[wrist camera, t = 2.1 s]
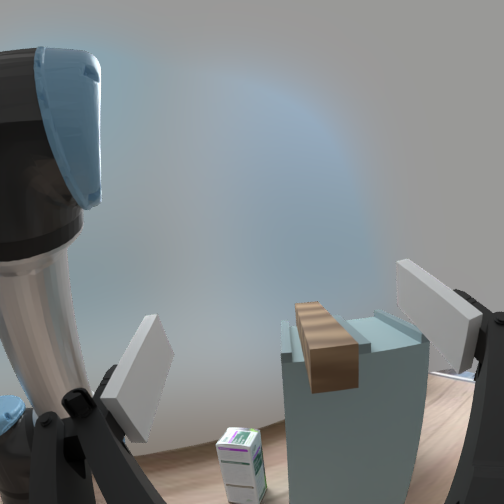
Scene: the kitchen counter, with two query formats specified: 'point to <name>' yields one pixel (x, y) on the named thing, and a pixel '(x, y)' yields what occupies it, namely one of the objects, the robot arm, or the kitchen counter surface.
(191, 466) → the kitchen counter surface
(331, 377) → the walnut slat
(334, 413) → the grey-blue storage bin
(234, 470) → the syrup box
